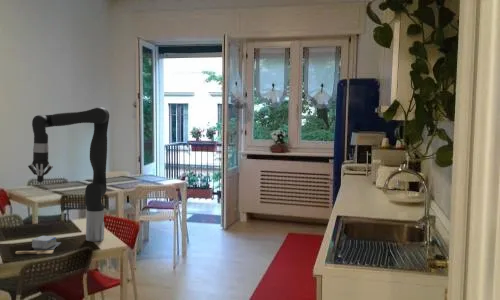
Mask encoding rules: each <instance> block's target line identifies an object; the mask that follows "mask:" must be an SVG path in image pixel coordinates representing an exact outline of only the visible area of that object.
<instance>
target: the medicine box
mask: <svg viewBox="0 0 500 300" xmlns="http://www.w3.org/2000/svg"><path fill="white" fill-rule="evenodd" d="M56 242H57V237H56V236H52V235H51V236H50V235H41V236H38V237H35V238H33V239H31V244H32V245H31V247H32V248H33V249H34V248H41V249H48V248H50V247H52V246H54V245H56Z"/></svg>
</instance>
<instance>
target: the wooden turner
mask: <svg viewBox="0 0 500 300" xmlns="http://www.w3.org/2000/svg"><path fill="white" fill-rule="evenodd" d="M54 251H55V249H54V250H16V251H15V253H14V254H15V255H28V254H29V255H30V254H31V255H33V254H36V255H52V254H54Z"/></svg>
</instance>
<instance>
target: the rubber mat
mask: <svg viewBox="0 0 500 300" xmlns="http://www.w3.org/2000/svg"><path fill="white" fill-rule="evenodd" d="M61 244H62V242H61V241H56V245H54V246H52V247H50V248H48V249H41V248H33V251H39V250H54V251H55V250H56V249H57V248H58V247H59V246H60V245H61ZM56 247H57V248H56ZM55 248H56V249H55Z"/></svg>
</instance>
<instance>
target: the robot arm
mask: <svg viewBox="0 0 500 300" xmlns="http://www.w3.org/2000/svg"><path fill="white" fill-rule="evenodd" d="M31 120H32V121H31V124H32V125H31V126H32V132H33V148H32V152H33V153H32V154H33V155H32V162H31V164H28V166H27V167H28V168H29V170H30V172H32V174H33V175H36V177H37V182H38V183H43V182H44V180H45V177H44V176H46V175H48V174H49V172H50V171H51V170H52V169H53V168H54V166H53V165H51V164H50V161H49V135H48V133H47V130H46V129H47V128H52V127H64V126H71V125H76V124H93V133H92V134H93V135H92V138H91V142H90V146H89V162H90V165H91V168H92V174H93V176H92V182H90V183H89V184H87V185H86V187H85V189H84V194H85V195H84V203H85V204H84V205H85V208H86V216H85V217H86V221H85V222H86V224H85V241H87V242H89V243H90V242H102V241H103V240H104V238H105V221H104V217H105V215H104V213H105V212H104V211H105V206H104V204H103V203H102V197H103V196H104V195H105V194H106V192H107V159H108V129H109V128H108V127H109V122H110V121H109V120H110V113H109V110H108V109H107V108H105V107H101V106H97V107H94V108H91V109H87V110H83V111H75V112H59V113H54V114H43V115H41V114H39V115H38V114H37V115H35V116H34V117H33V118H32V119H31Z"/></svg>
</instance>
